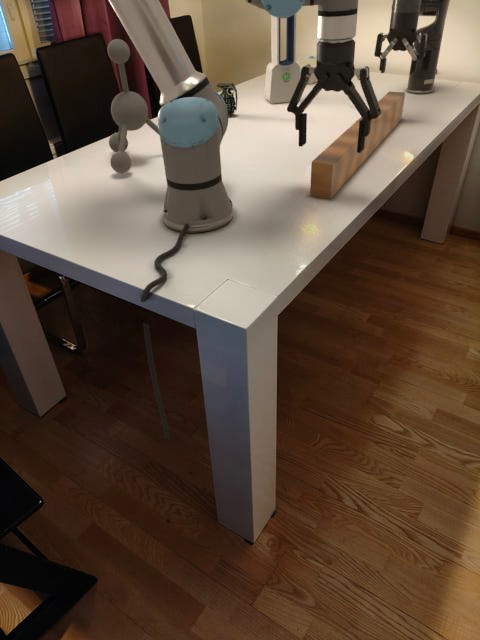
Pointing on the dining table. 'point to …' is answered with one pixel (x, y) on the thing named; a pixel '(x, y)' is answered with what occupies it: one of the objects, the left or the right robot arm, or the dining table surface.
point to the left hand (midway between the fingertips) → (330, 147)
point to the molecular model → (125, 110)
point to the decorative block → (312, 63)
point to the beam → (353, 148)
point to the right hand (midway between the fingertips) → (396, 73)
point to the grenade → (228, 96)
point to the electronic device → (282, 64)
